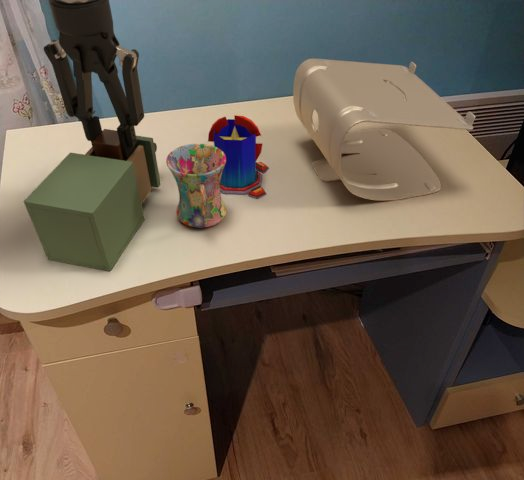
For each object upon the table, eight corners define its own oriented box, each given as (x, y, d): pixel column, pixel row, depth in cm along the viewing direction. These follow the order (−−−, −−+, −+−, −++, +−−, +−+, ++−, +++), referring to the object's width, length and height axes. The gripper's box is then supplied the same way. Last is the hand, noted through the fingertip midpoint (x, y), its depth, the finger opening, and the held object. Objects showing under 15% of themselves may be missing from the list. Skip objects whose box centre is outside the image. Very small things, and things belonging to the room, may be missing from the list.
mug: (172, 203, 87) (163, 146, 79) (224, 197, 89) (220, 140, 80) (179, 246, 80) (171, 188, 72) (236, 239, 81) (234, 181, 73)
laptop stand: (288, 140, 101) (293, 58, 89) (393, 125, 106) (411, 45, 94) (334, 212, 86) (347, 125, 74) (454, 192, 90) (485, 106, 78)
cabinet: (87, 209, 86) (70, 152, 78) (144, 219, 84) (132, 161, 76) (47, 259, 78) (23, 201, 69) (110, 271, 76) (92, 213, 68)
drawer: (122, 164, 93) (112, 118, 87) (169, 171, 92) (162, 125, 85) (80, 216, 83) (65, 169, 76) (132, 225, 82) (121, 178, 75)
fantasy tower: (200, 196, 89) (194, 131, 79) (208, 161, 96) (204, 97, 87) (266, 199, 88) (267, 134, 79) (269, 163, 96) (271, 100, 87)
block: (98, 167, 81) (92, 142, 78) (110, 153, 84) (104, 128, 80) (123, 171, 80) (117, 145, 77) (134, 157, 83) (129, 132, 80)
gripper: (151, -9, 65) (174, 157, 83) (32, -22, 67) (79, 142, 85) (128, 9, 60) (157, 181, 78) (0, -4, 63) (57, 165, 81)
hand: (116, 160), depth 82 cm, fingers closed on block, 4 cm apart
